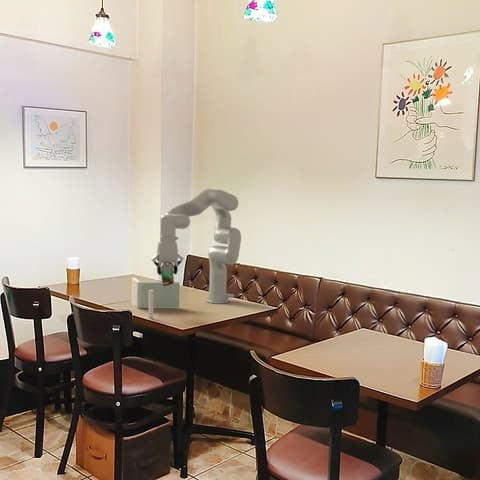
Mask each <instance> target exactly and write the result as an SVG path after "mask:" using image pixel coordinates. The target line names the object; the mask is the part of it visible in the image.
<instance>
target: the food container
mask: <svg viewBox="0 0 480 480" xmlns="http://www.w3.org/2000/svg"><path fill="white" fill-rule="evenodd" d="M160 270H161V275H160V276H161V282H162V283H163V286H167V285H171V284H173V283H174V282H175V281H174V279H175V277H174V273H173V271H174V263H173V262H162V264H161V266H160Z"/></svg>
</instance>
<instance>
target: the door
mask: <svg viewBox="0 0 480 480" xmlns="http://www.w3.org/2000/svg"><path fill="white" fill-rule="evenodd" d="M140 282H141V308H140V309H149V290H153V309H154V308H155V309H157V308H158V309H160V308H161V309H162V308H163V309H164V308H167V309H169V308H171V309H172V308H173V309H174V308H175V309H176V308H180V281H174V283H173V284H171V285H167V286H163V283H162V281H140Z"/></svg>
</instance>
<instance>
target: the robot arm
mask: <svg viewBox="0 0 480 480" xmlns="http://www.w3.org/2000/svg"><path fill="white" fill-rule="evenodd" d="M210 206H211V208H212V209H213V212H214V213H215V217H216V219H215V227H214V233H213V239H214V241H215V242H216V243H218V245H213V246H211V247H210V248H209V250H208V261H209V285H208V286H209V289H208V291H209V292H208V293H209V294H208V295H209V297H208V298H206V300H205V301H206V302H207V303H210V304H217V305H218V304H226V303H229V301H230V299H231V298H235V294H234V293H227V274H228V273H227V272H228V271H227V270H228V269H227V266H226V265H234V264H236V263H237V262H238V260H239V256H240V250H241V249H240V248H241V242H242V233H241V231H240V230H239V229H238V228H236V227H232V214H231V213H230V212H231V211H235V210H237V208H238V207H239V199H238V197H237V196H236V195H234V194H232V193H229V192H227V191H224V190H221V189H213V188H211V189H210V188H208V189H207V188H206V189H205V190H202V191H201V192H200V193H199V194H197V195H196V196H195V197H194V198H193V199H191V200H190V201H187V202H183V203H181V204H179V205H177V206H175V207H174V208H172V209H170V210H169V211H168V212H167V213H166V214H163V215H161V216H160V228H159V229H160V233H159V235H160V239H159V241H158V244H157V249H156V255H154V256H153V257H152V258H151V261H152V262H153V264H154V265H155V266H156V273H157V274H158V276H161V270H160V267H162V265H163V262H172V263H173V265H174V268H173V275H178V267H179V266H180V264H181V263H182V262H183V260H184V257H183V256H181V255H180V254H179V250H178V243H177V242H176V241H178V240H179V237H178V236H176V229H179V230H185V229H188V227H189V226H190V224H191V219H190V218H191V217H195V216H200V215H201V214H202V213H203V212H205V211H206V209H208V208H209V207H210ZM219 244H224V245H219ZM225 245H227V246H225Z"/></svg>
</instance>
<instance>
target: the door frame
mask: <svg viewBox="0 0 480 480" xmlns="http://www.w3.org/2000/svg"><path fill="white" fill-rule="evenodd" d="M141 282H142V281H140V280H139V279H137V278H136V277H131V304H132V305H133V306H134V307H135V306H136V307H137V308H136V307H135V308H136V309H142V308H141ZM147 313H148V315H147V316H148V319H149V320H153V319H154V308H153V290H149V308H148V312H147Z"/></svg>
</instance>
